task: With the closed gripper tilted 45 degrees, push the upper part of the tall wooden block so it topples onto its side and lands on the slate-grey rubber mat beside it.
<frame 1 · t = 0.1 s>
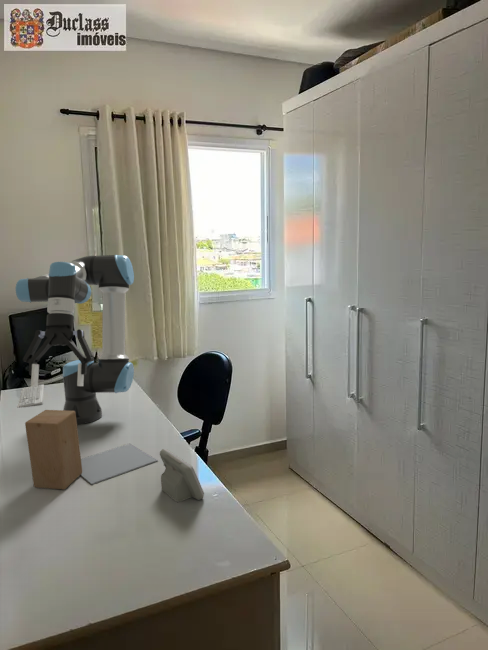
hand: (57, 386, 141), 28 cm above the table, tool tilted 20°, fingers open, 13 cm apart
wooden block: (59, 480, 143), on the table, touching grey mat
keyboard: (31, 398, 224), on the table
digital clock: (182, 492, 136), on the table
grey mat: (112, 462, 154), on the table
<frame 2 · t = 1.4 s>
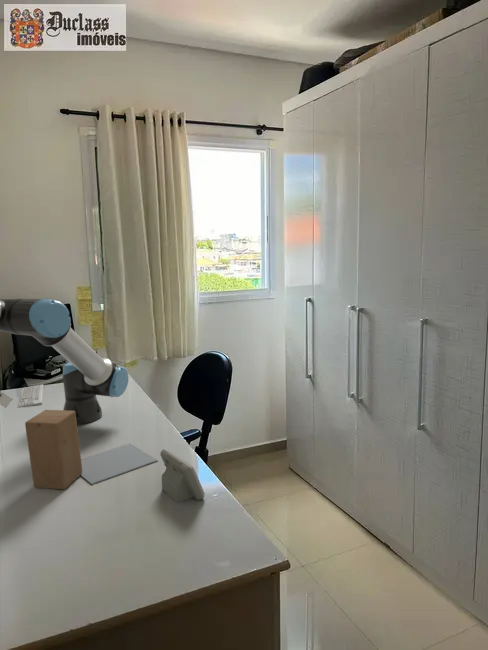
hand: (1, 397, 130), 29 cm above the table, tool tilted 45°, fingers open, 13 cm apart
nothing on the table moved.
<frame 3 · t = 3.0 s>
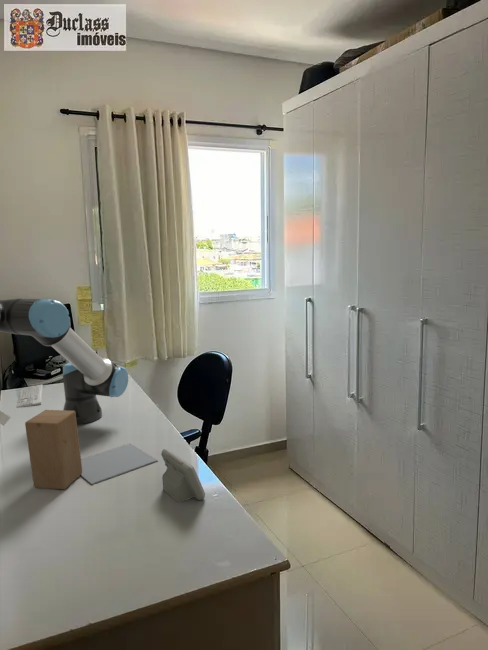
hand: (6, 420, 131), 22 cm above the table, tool tilted 45°, fingers closed
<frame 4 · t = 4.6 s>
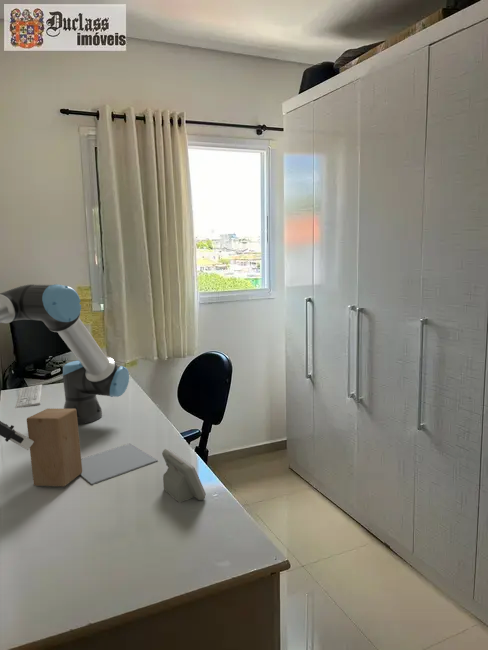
hand: (30, 445, 137), 13 cm above the table, tool tilted 45°, fingers closed
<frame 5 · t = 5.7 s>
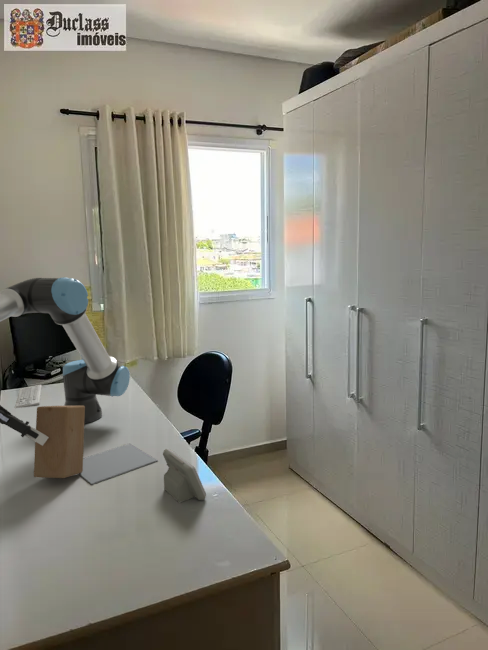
hand: (44, 440, 139), 13 cm above the table, tool tilted 45°, fingers closed
wooden block: (58, 475, 143), point 2 cm above the table, touching grey mat
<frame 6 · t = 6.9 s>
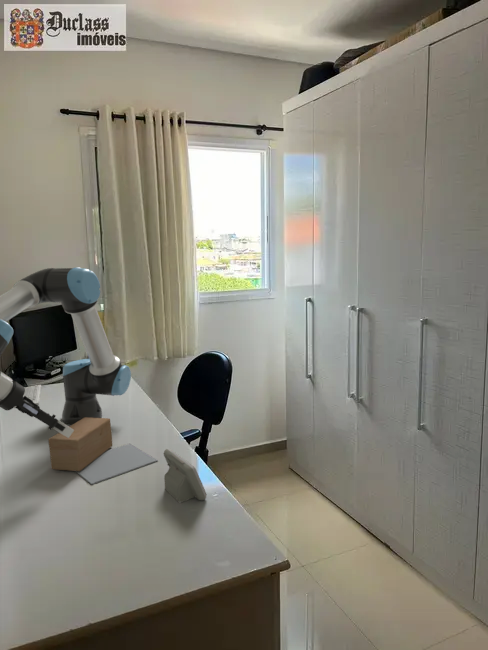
hand: (70, 433, 144), 13 cm above the table, tool tilted 45°, fingers closed
wooden block: (63, 455, 147), point 6 cm above the table, touching grey mat
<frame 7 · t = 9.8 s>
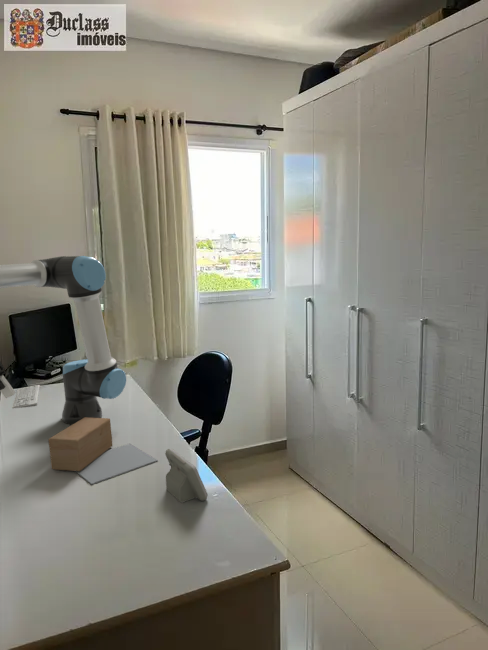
hand: (10, 395, 145), 25 cm above the table, tool tilted 25°, fingers closed
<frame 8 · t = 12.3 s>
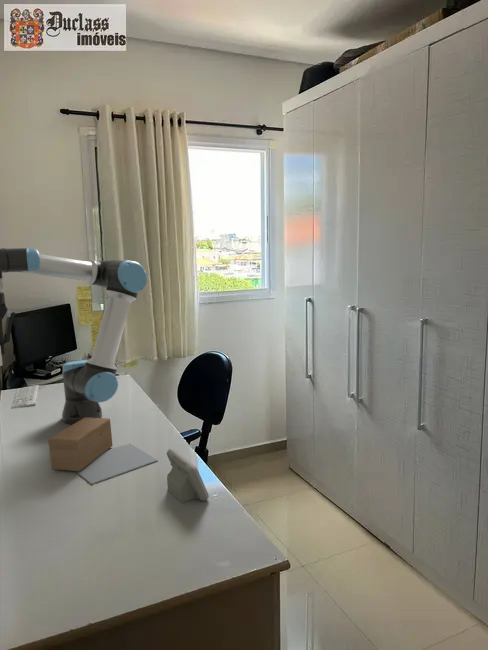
at the end: wooden block tilted 91°; wooden block touching grey mat, table; wooden block inside the target area (4.7 cm from its centre), point 5.6 cm above the table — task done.
